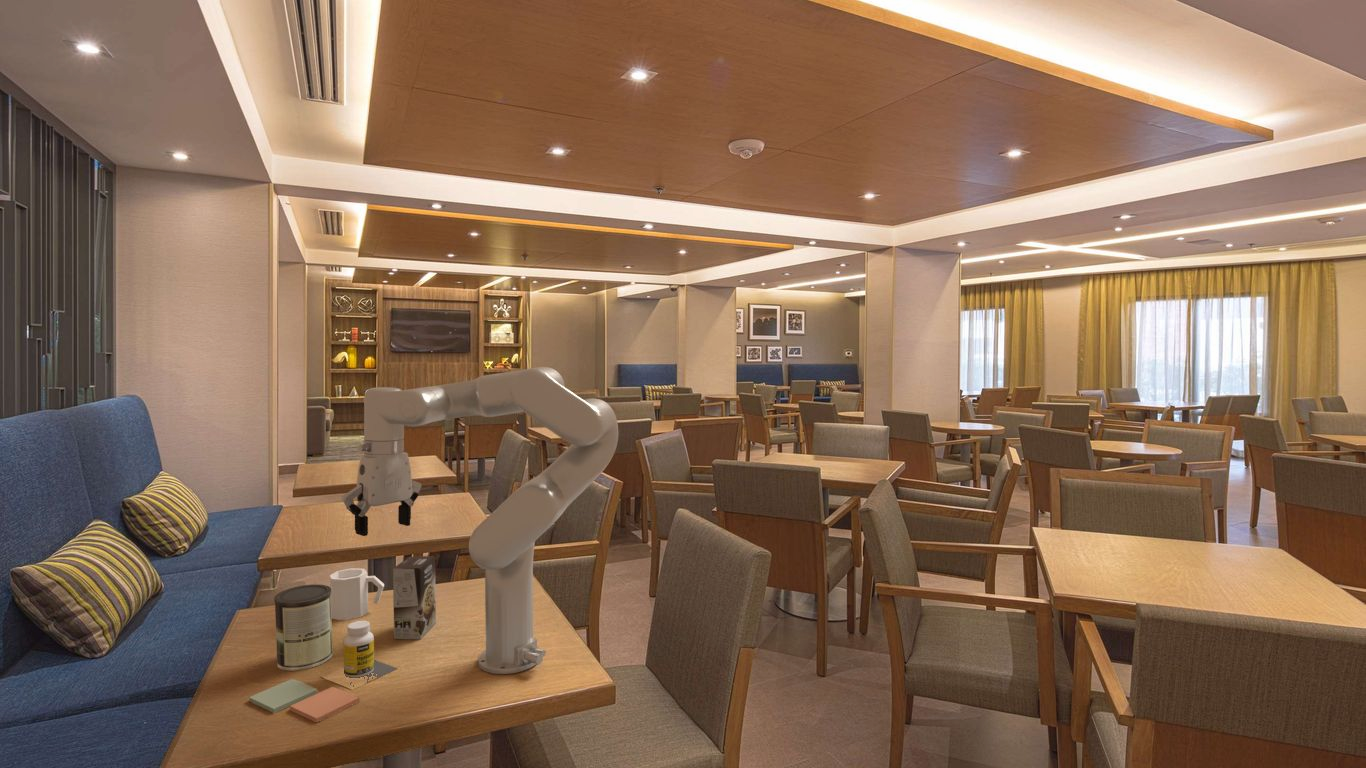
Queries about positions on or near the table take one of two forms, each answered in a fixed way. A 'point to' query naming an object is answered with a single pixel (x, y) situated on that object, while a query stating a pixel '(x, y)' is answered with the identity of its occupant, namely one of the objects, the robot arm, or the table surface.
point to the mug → (351, 593)
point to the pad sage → (283, 695)
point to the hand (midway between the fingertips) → (383, 529)
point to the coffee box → (414, 597)
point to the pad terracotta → (324, 704)
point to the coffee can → (303, 627)
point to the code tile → (380, 670)
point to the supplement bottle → (358, 650)
